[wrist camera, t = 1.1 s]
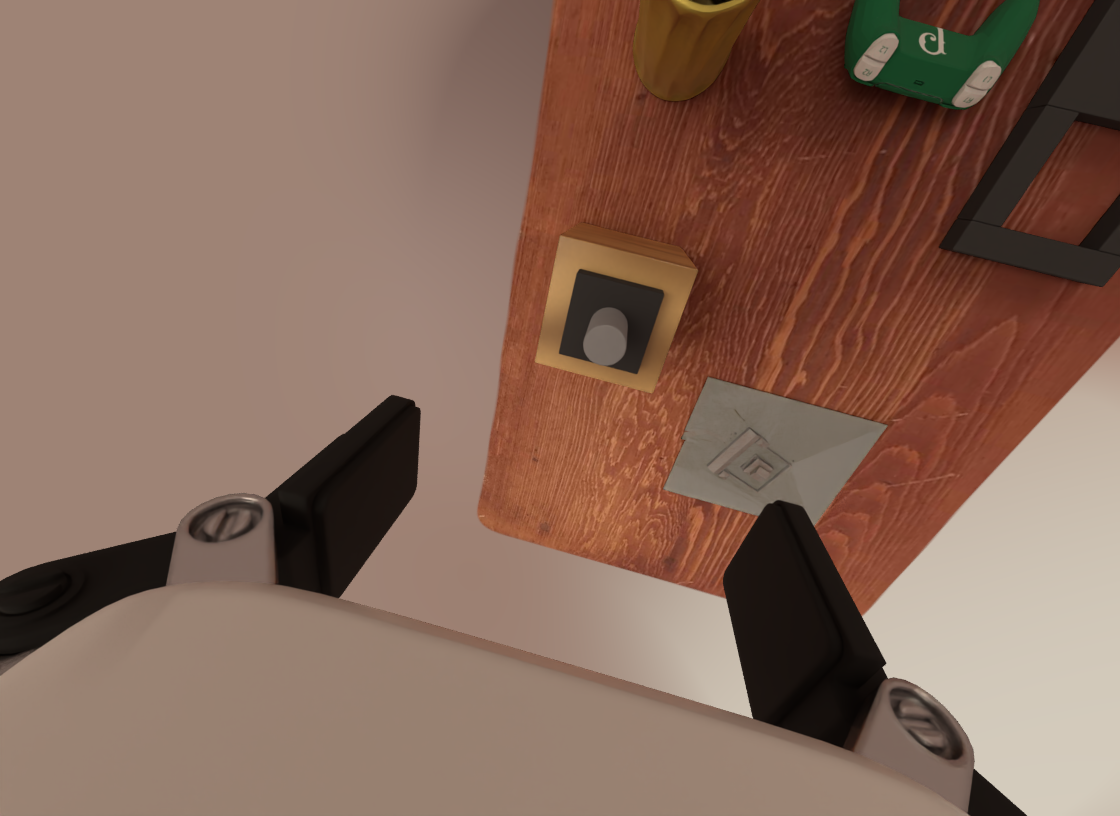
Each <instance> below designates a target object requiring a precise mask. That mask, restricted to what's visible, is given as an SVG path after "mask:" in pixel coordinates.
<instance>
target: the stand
mask: <svg viewBox="0 0 1120 816" xmlns="http://www.w3.org/2000/svg"><path fill="white" fill-rule="evenodd" d="M579 269H583V270H587V271H591V272H595V273H599V274H603V275H607V276H611V277H615V278H618V279H622V280H626V281H630V282H634V283H638V284H642V285H646V286H650V287H654V288H658V289H661V290H663V292H664V298H663V301H662V304H661V307H660V310H659V313H658V316H657V319H656V321H655V324H654V327H653V330H652V333H651V336H650V339H649V342H648V345H647V348H646V351H645V354H644V357H643V360H642V363H641V366H640V369H639V372H638V374H633V373H629V372H626V371H622V370H618V369H614V368H611V367H607V366H602V365H598V364H595V363H592V362H588V361H584V360H580V359H577V358H573V357H569V356H565V355H561V354H559V349H560V344H561V340H562V335H563V331H564V327H565V322H566V318H567V313H568V309H569V305H570V300H571V296H572V291H573V287H574V283H575V278H576V274H577V272H578V270H579ZM697 273H698V269H697V268H696V266H695V265H694V264H693V263H692V261H691V260H690V259H689V257H688V256H687V255H686V253H685V252H684V251H683V249H682V248H681V247H678V246H674V245H670V244H666V243H662V242H658V241H654V240H650V239H646V238H642V237H638V236H634V235H630V234H626V233H622V232H618V231H614V230H610V229H606V228H602V227H598V226H594V225H590V224H586V223H582V222H581V223H579V224H577V225H576V226H574V227H572V228H571V229H569V230H568V231H566V232H564V233H563V234H561V235H560V237H559V242H558V247H557V252H556V257H555V262H554V267H553V272H552V277H551V282H550V287H549V292H548V297H547V303H546V308H545V313H544V318H543V323H542V328H541V333H540V338H539V343H538V348H537V353H536V358H535V362H536V363H539V364H543V365H547V366H550V367H554V368H558V369H562V370H565V371H569V372H573V373H577V374H581V375H584V376H588V377H592V378H596V379H599V380H603V381H607V382H611V383H614V384H618V385H622V386H626V387H629V388H633V389H637V390H641V391H644V392H648V393H653V392H654V389H655V387H656V384H657V381H658V378H659V376H660V373H661V370H662V368H663V365H664V362H665V359H666V357H667V354H668V351H669V349H670V346H671V343H672V341H673V338H674V335H675V332H676V330H677V327H678V324H679V322H680V319H681V316H682V313H683V311H684V308H685V305H686V303H687V300H688V297H689V294H690V292H691V289H692V286H693V284H694V281H695V278H696V276H697Z"/></svg>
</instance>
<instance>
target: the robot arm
mask: <svg viewBox="0 0 1120 816" xmlns="http://www.w3.org/2000/svg"><path fill="white" fill-rule="evenodd" d="M420 412H421V411H420V408H418V407H415V402H414V401H413V400H410V399H406V398H402V397H399V396H395V395H391V396H389V397H388V398H387V399H386V400H384V402H382V403H381V404H380V405H378V406H377V407H376V408H375V409H374V410H373V411H371V412H370V413H369V414H368V415H367V416H365V417H364V418H363V419H362V420H361V421H359V422H358V423H357V424H356V425H355V426H353V427H352V428H351V429H350V430H349V431H348V432H346V433H345V434H342V435H341V436H339V437H338V438H336V439H335V440H334V441H333V442H332V443H331V444H329V445H328V446H327V447H326V448H324V449H323V450H322V451H321V452H320V453H318V454H317V455H316V456H315V457H314V458H312V459H311V460H310V461H309V462H308V463H307V464H305V465H304V466H303V467H302V468H300V469H299V470H298V471H297V472H296V473H295V474H293V475H292V476H291V477H290V478H289V479H287V480H286V481H285V482H284V483H283V484H281V485H280V486H279V487H278V488H276V489H275V490H274V491H273V492H272V493H270V494H269V495H268V496H267V497H266V498H263V497H260V496H258V495H255V494H246V493H239V494H229V495H225V496H221V497H217V498H214V499H211V500H209V501H207V502H204V503H202V504H200V505H199V506H197V507H196V508H194V509H192V510H191V511H190V512H189V513H188V514H187V515H186V516H185V517H184V518H183V519H182V520H181V522H180V524H179V526H178V528H177V532H173V533H169V534H165V535H160V536H156V537H152V538H148V539H143V540H139V541H135V542H131V543H127V544H122V545H118V546H114V547H110V548H106V549H102V550H97V551H93V552H89V553H85V554H80V555H76V556H72V557H68V558H64V559H60V560H55V561H51V562H47V563H43V564H40V565H37V566H34V567H30V568H27V569H25V570H22V571H20V572H18V573H16V574H13V575H11V576H9V577H7V578H5V579H3V580H1V581H0V816H1027V815H1026V814H1025V813H1024V812H1022V811H1021V810H1020V809H1019V808H1018V807H1017V806H1016V805H1014V804H1013V803H1012V802H1011V801H1010V800H1009V799H1008V798H1007V797H1005V796H1004V795H1003V794H1002V793H1001V792H1000V791H999V790H997V789H996V788H995V787H994V786H993V785H992V784H991V783H990V782H989V781H987V780H986V779H985V778H984V777H983V776H982V775H981V774H979V773H978V772H977V771H976V770H975V769H974V762H975V761H974V752H973V748H972V746H971V743H970V741H969V739H968V736H967V735H966V733H965V732H964V730H963V729H962V727H961V726H960V724H959V723H958V721H957V720H956V719H955V718H954V717H953V716H952V715H951V713H950V712H949V711H948V710H947V709H946V708H945V707H944V706H943V705H942V704H941V703H940V702H938V700H936V699H935V698H934V697H933V696H932V695H930V694H929V693H928V692H926V691H925V690H923V689H921V688H920V687H918V686H917V685H915V684H913V683H910V682H908V681H906V680H903V679H898V678H889V679H888V678H887V676H886V674H885V672H884V670H883V668H882V667H883V666H884V665H885V664H886V662H885V660H884V658H883V656H882V654H881V652H880V650H879V648H878V646H877V645H876V643H875V641H874V639H873V637H872V635H871V633H870V631H869V629H868V628H867V626H866V624H865V622H864V620H863V618H862V616H861V614H860V612H859V611H858V609H857V607H856V605H855V603H854V601H853V599H852V597H851V595H850V594H849V592H848V590H847V588H846V586H845V584H844V582H843V580H842V578H841V577H840V575H839V573H838V571H837V569H836V567H835V565H834V563H833V561H832V560H831V558H830V556H829V554H828V552H827V550H826V548H825V546H824V544H823V543H822V541H821V539H820V537H819V535H818V533H817V531H816V529H815V527H814V526H813V524H812V522H811V520H810V518H809V516H808V514H807V512H806V510H805V509H804V508H803V507H802V506H800V505H797V504H793V503H789V502H786V501H782V500H776V501H775V502H774V503H773V504H772V503H768V504H767V505H766V506H765V507H764V509H763V510H762V512H761V513H760V515H759V517H758V518H757V520H756V522H755V523H754V525H753V526H752V528H751V530H750V531H749V533H748V535H747V536H746V538H745V540H744V541H743V543H742V544H741V546H740V548H739V549H738V551H737V553H736V554H735V556H734V557H733V559H732V561H731V562H730V564H729V566H728V567H727V569H726V571H725V573H724V577H723V586H724V590H725V595H726V599H727V604H728V608H729V613H730V617H731V622H732V626H733V631H734V635H735V640H736V644H737V649H738V653H739V658H740V662H741V667H742V671H743V676H744V680H745V685H746V689H747V694H748V698H749V703H750V707H751V712H752V716H753V719H752V718H749V717H745V716H742V715H738V714H735V713H732V712H729V711H725V710H722V709H718V708H715V707H712V706H709V705H705V704H702V703H699V702H695V701H692V700H689V699H685V698H682V697H679V696H675V695H672V694H669V693H665V692H662V691H658V690H655V689H652V688H648V687H645V686H642V685H639V684H635V683H632V682H628V681H625V680H622V679H618V678H615V677H611V676H608V675H605V674H601V673H598V672H594V671H591V670H588V669H584V668H581V667H577V666H574V665H571V664H567V663H564V662H560V661H557V660H554V659H550V658H547V657H543V656H540V655H536V654H533V653H529V652H526V651H523V650H519V649H516V648H513V647H509V646H506V645H502V644H499V643H495V642H492V641H488V640H485V639H481V638H478V637H475V636H471V635H467V634H464V633H460V632H457V631H453V630H450V629H446V628H443V627H440V626H436V625H432V624H429V623H426V622H422V621H419V620H415V619H412V618H408V617H405V616H401V615H398V614H394V613H391V612H387V611H384V610H380V609H376V608H372V607H369V606H365V605H361V604H357V603H354V602H350V601H346V600H343V599H339V597H340V596H341V595H342V594H343V592H344V591H345V589H346V588H347V587H348V585H349V584H350V582H351V581H352V580H353V578H354V577H355V576H356V574H357V573H358V572H359V570H360V569H361V567H362V566H363V565H364V563H365V562H366V560H367V559H368V558H369V556H370V555H371V553H372V552H373V551H374V550H375V548H376V547H377V545H378V544H379V542H380V541H381V540H382V538H383V537H384V535H385V534H386V533H387V531H388V530H389V529H390V527H391V526H392V524H393V523H394V522H395V521H396V519H397V518H398V516H399V515H400V514H401V512H402V511H403V509H404V508H405V507H406V505H407V504H408V503H409V501H410V500H411V498H412V497H413V495H414V493H415V490H416V487H417V474H418V455H419V434H420V414H421V413H420Z"/></svg>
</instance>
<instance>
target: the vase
mask: <svg viewBox="0 0 1120 816" xmlns="http://www.w3.org/2000/svg"><path fill="white" fill-rule="evenodd" d="M759 1H760V0H640V10H639V20H638V23H637V26H636V30H635V35H634V41H633V58H634V63H635V67H636V70H637V73H638V76H639V78H640V80H641V82H642V83H643V85H644V86H645V87H646V88H647V89H648V90H649V91H650V92H651V93H652V94H653V95H655V96H657V97H658V98H661V99H663V100H667V101H682V100H687V99H690V98H692V97H694V96H696V95H698V94H700V93H701V92H703V91H704V90H705V89H706V88H708V87H709V86H710V85H711V84H712V83H713V82H714V81H715V80H716V78H717V77H718V75H719V74H720V72H721V71H722V69H723V67H724V65H725V63H726V62H727V60H728V57H729V55H730V52H731V49H732V46H733V44H734V42H735V41H736V39H737V37H738V36H739V34H740V32H741V31H742V29H743V28H744V26H745V24H746V22H747V21H748V19H749V17H750V15H751V14H752V12H753V10H754V9H755V7H756V6H757V4H758V2H759Z"/></svg>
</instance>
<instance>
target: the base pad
mask: <svg viewBox="0 0 1120 816" xmlns="http://www.w3.org/2000/svg"><path fill="white" fill-rule="evenodd" d="M1074 120H1077V121H1081V122H1085V123H1090V124H1094V125H1098V126H1103V127H1107V128H1111V129H1116V130H1120V0H1095V1H1094V3H1093V4H1092V6H1091V7H1090V9H1089V11H1088V12H1087V14H1086V15H1085V17H1084V18H1083V20H1082V22H1081V23H1080V25H1079V26H1078V28H1077V30H1076V31H1075V33H1074V34H1073V36H1072V37H1071V39H1070V41H1069V42H1068V44H1067V45H1066V47H1065V48H1064V50H1063V52H1062V53H1061V55H1060V56H1059V58H1058V59H1057V61H1056V63H1055V64H1054V66H1053V67H1052V69H1051V71H1050V72H1049V74H1048V75H1047V77H1046V78H1045V80H1044V82H1043V83H1042V85H1041V86H1040V88H1039V89H1038V91H1037V93H1036V94H1035V96H1034V97H1033V99H1032V101H1031V102H1030V104H1029V105H1028V107H1027V110H1025V112H1024V113H1023V115H1022V117H1021V118H1020V120H1019V121H1018V123H1017V124H1016V126H1015V128H1014V129H1013V131H1012V132H1011V134H1010V135H1009V137H1008V139H1007V140H1006V142H1005V143H1004V145H1003V147H1002V148H1001V150H1000V151H999V153H998V154H997V156H996V158H995V159H994V161H993V162H992V164H991V165H990V167H989V169H988V170H987V172H986V173H985V175H984V176H983V178H982V180H981V181H980V183H979V184H978V186H977V188H976V189H975V191H974V192H973V194H972V195H971V197H970V199H969V200H968V202H967V203H966V205H965V206H964V208H963V210H962V211H961V213H960V214H959V216H958V219H957V220H956V221H955V222H954V224H953V226H952V227H951V229H950V230H949V232H948V233H947V235H946V237H945V238H944V240H943V241H942V243H941V245H940V246H939V248H942V249H946V250H950V251H954V252H958V253H962V254H966V255H970V256H974V257H978V258H983V259H987V260H991V261H995V262H999V263H1003V264H1007V265H1011V266H1015V267H1019V268H1023V269H1027V270H1031V271H1036V272H1040V273H1044V274H1048V275H1052V276H1056V277H1060V278H1064V279H1068V280H1072V281H1076V282H1080V283H1085V284H1090V285H1094V286H1099V287H1103V286H1104V285H1105V284H1106V283H1107V282H1108V280H1109V279H1110V278H1111V277H1112V276H1113V275H1114V273H1115V272H1116V271H1117V270H1118V269H1119V268H1120V195H1119V197H1118V198H1117V199H1116V200H1115V202H1114V203H1113V204H1112V205H1111V207H1110V208H1109V209H1108V210H1107V212H1106V213H1105V214H1104V215H1103V217H1102V218H1101V219H1100V220H1099V222H1098V223H1097V224H1096V225H1095V227H1094V228H1093V229H1092V231H1091V232H1090V233H1089V234H1088V236H1087V237H1086V238H1085V239H1084V241H1083V242H1082V243H1081V244H1080V246H1076V245H1072V244H1068V243H1064V242H1060V241H1056V240H1051V239H1047V238H1043V237H1039V236H1035V235H1031V234H1027V233H1022V232H1018V231H1014V230H1010V229H1006V228H1002V227H1001V226H1002V224H1003V223H1004V222H1005V220H1006V219H1007V217H1008V216H1009V214H1010V213H1011V211H1012V210H1013V208H1014V207H1015V206H1016V204H1017V203H1018V201H1019V200H1020V198H1021V197H1022V195H1023V194H1024V193H1025V191H1026V190H1027V188H1028V187H1029V185H1030V184H1031V182H1032V181H1033V179H1034V178H1035V177H1036V175H1037V174H1038V172H1039V171H1040V169H1041V168H1042V166H1043V165H1044V163H1045V162H1046V161H1047V159H1048V158H1049V156H1050V155H1051V153H1052V152H1053V150H1054V149H1055V148H1056V146H1057V145H1058V143H1059V142H1060V140H1061V139H1062V137H1063V136H1064V134H1065V133H1066V132H1067V130H1068V129H1069V127H1070V126H1071V124H1072V123H1073V121H1074Z"/></svg>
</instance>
